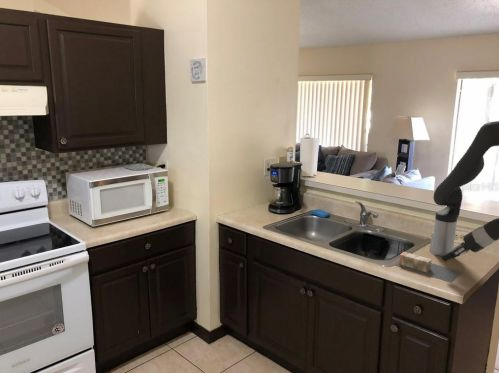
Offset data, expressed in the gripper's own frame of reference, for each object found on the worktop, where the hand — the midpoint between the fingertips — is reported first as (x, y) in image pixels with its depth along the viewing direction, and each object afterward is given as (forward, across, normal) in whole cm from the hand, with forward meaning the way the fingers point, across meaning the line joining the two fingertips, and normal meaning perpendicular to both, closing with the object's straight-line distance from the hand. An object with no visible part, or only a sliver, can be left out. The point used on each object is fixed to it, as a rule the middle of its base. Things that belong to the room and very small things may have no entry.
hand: (443, 259), depth 172 cm
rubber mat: (+10, -2, +1) cm, 10 cm away
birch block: (+7, 0, -1) cm, 7 cm away
